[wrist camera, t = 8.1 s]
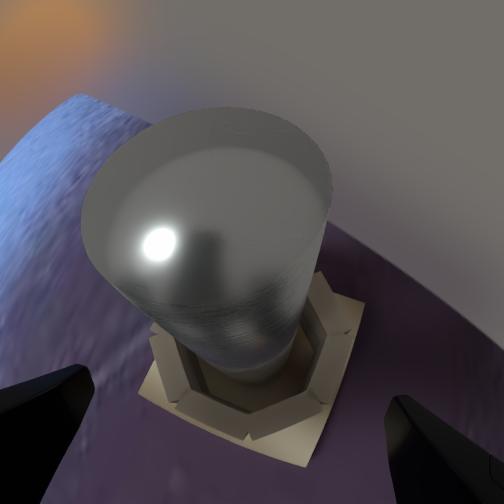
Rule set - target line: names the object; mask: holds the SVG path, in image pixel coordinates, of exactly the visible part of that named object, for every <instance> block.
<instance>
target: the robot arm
mask: <svg viewBox="0 0 504 504" xmlns="http://www.w3.org/2000/svg"><path fill="white" fill-rule="evenodd" d="M94 392H95V386H94V383H93V380H92V377H91V374H90V371H89V369H88V368H87V367H86V366H83V365H80V364H74V365H71V366H68V367H66V368H63V369H60V370H57V371H54V372H51V373H49V374H46V375H43V376H40V377H37V378H34V379H31V380H28V381H25V382H22V383H19V384H16V385H13V386H10V387H7V388H4V389H0V504H40V502H41V500H42V498H43V496H44V494H45V492H46V490H47V488H48V486H49V484H50V482H51V480H52V478H53V476H54V474H55V472H56V470H57V468H58V466H59V464H60V462H61V460H62V458H63V457H64V455H65V453H66V451H67V449H68V447H69V445H70V444H71V442H72V440H73V438H74V436H75V435H76V433H77V431H78V429H79V427H80V425H81V422H82V420H83V418H84V415H85V413H86V411H87V408H88V406H89V404H90V402H91V399H92V397H93V395H94ZM384 425H385V433H386V442H387V451H388V461H389V468H390V473H391V477H392V482H393V487H394V492H395V497H396V502H397V504H504V462H502V461H500V460H499V459H497V458H496V457H494V456H493V455H492V454H490V455H489V453H488V452H487V451H486V450H484V449H483V448H481V447H480V446H478V445H477V444H475V443H474V442H473V441H471V440H470V439H468V438H467V437H465V436H464V435H463V434H461V433H460V432H458V431H457V430H455V429H454V428H453V427H451V426H450V425H448V424H447V423H446V422H444V421H443V420H441V419H440V418H439V417H437V416H436V415H434V414H433V413H432V412H430V411H429V410H427V409H426V408H425V407H423V406H422V405H421V404H419V403H418V402H416V401H415V400H414V399H412V398H411V397H410V396H408V395H399V396H394V397H393V398H392V400H391V402H390V405H389V407H388V410H387V412H386V415H385V418H384Z"/></svg>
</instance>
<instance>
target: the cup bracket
mask: <svg viewBox="0 0 504 504" xmlns="http://www.w3.org/2000/svg"><path fill="white" fill-rule="evenodd" d="M364 306H365V303H363V302H360V301H357V300H354V299H351V298H348V297H345V296H342V295H339V294H336V293H333V292H332V290H331V288H330V286H329V285H328V283H327V281H326V279H325V277H324V276H323V274H322V272H321V271H319V272H317V273H315V274H313V277H312V280H311V284H310V288H309V291H308V295H307V298H306V302H305V305H304V308H303V312H302V315H301V318H300V322H299V325H298V328H297V332H296V335H295V338H294V341H293V344H292V347H291V351H290V354H289V357H288V360H287V363H286V366H285V368H284V370H283V372H282V373H281V374H280V376H279V377H278V378H277V379H275V380H274V381H273V382H271V383H269V384H267V385H264V386H260V387H247V386H243V385H241V384H239V383H237V382H235V381H233V380H232V379H231V378H229V377H228V376H226V375H225V374H223V373H222V372H220V371H219V370H217V369H216V368H215V367H213V366H212V365H210V364H209V363H208V362H206V361H205V360H203V359H202V358H201V357H199V356H198V355H196V354H195V353H194V352H192V351H191V350H190V349H188V348H187V347H186V346H184V345H183V344H182V343H181V342H179V341H178V340H177V339H175V338H174V337H173V336H172V335H170V334H169V333H168V332H166V331H165V330H164V329H163V328H161V327H160V326H159V325H158V324H157V323H155V322H154V323H153V325H152V327H151V329H150V330H151V331H152V332H154V333H155V334H156V335H155V336H152V337H150V338H149V340H150V343H151V347H152V351H153V354H154V358H155V360H154V362H153V364H152V366H151V368H150V370H149V372H148V374H147V376H146V378H145V380H144V382H143V384H142V386H141V388H140V390H139V392H138V394H140V395H141V396H143V397H145V398H146V399H148V400H150V401H151V402H153V403H155V404H156V405H158V406H160V407H162V408H164V409H165V410H167V411H169V412H171V413H173V414H175V415H176V416H178V417H180V418H182V419H184V420H186V421H188V422H190V423H192V424H194V425H196V426H198V427H200V428H202V429H204V430H206V431H209V432H211V433H213V434H215V435H217V436H220V437H222V438H224V439H226V440H229V441H231V442H234V443H236V444H238V445H241V446H243V447H246V448H249V449H251V450H254V451H256V452H259V453H262V454H265V455H268V456H270V457H273V458H276V459H279V460H282V461H285V462H289V463H292V464H295V465H298V466H302V467H305V468H306V466H307V464H308V462H309V459H310V457H311V455H312V453H313V451H314V449H315V446H316V444H317V442H318V440H319V437H320V435H321V433H322V430H323V428H324V425H325V423H326V421H327V418H328V416H329V413H330V411H331V408H332V406H333V403H334V400H335V398H336V395H337V392H338V390H339V387H340V384H341V381H342V378H343V375H344V372H345V370H346V367H347V364H348V360H349V357H350V354H351V351H352V348H353V345H354V341H355V338H356V335H357V331H358V328H359V324H360V321H361V317H362V313H363V310H364Z"/></svg>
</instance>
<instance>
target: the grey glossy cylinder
mask: <svg viewBox="0 0 504 504" xmlns="http://www.w3.org/2000/svg"><path fill="white" fill-rule="evenodd" d="M331 198H332V177H331V173H330V169H329V165H328V163H327V161H326V159H325V157H324V155H323V153H322V151H321V150H320V148H319V147H318V146H317V145H316V143H315V142H314V141H313V140H312V139H311V138H310V137H309V136H308V135H307V134H306V133H305V132H303V131H302V130H301V129H299V128H298V127H297V126H295V125H293V124H291V123H290V122H288V121H286V120H284V119H282V118H280V117H278V116H274V115H272V114H269V113H266V112H262V111H257V110H252V109H245V108H232V107H223V108H222V107H221V108H208V109H201V110H196V111H191V112H187V113H183V114H180V115H176V116H173V117H171V118H168V119H165V120H163V121H161V122H158V123H156V124H154V125H152V126H150V127H148V128H147V129H145V130H143V131H141V132H140V133H138V134H137V135H135V136H134V137H132V138H131V139H129V140H128V141H127V142H126V143H124V144H123V145H122V146H121V147H120V148H119V149H117V150H116V151H115V152H114V153H113V154H112V155H111V156H110V158H109V159H108V160H107V161H106V162H105V163H104V164H103V166H102V167H101V169H100V170H99V171H98V173H97V174H96V176H95V178H94V179H93V181H92V183H91V185H90V187H89V189H88V192H87V194H86V197H85V200H84V204H83V208H82V215H81V234H82V239H83V244H84V247H85V250H86V252H87V255H88V257H89V259H90V260H91V262H92V263H93V265H94V267H95V268H96V269H97V270H98V271H99V272H100V274H101V275H102V276H103V277H104V278H105V279H106V280H107V281H108V282H109V283H111V284H112V285H113V286H114V287H115V288H116V289H117V290H118V291H119V292H120V293H121V294H123V295H124V296H125V297H126V298H127V299H128V300H129V301H131V302H132V303H133V304H134V305H135V306H136V307H137V308H139V309H140V310H141V311H142V312H143V313H144V314H146V315H147V316H148V317H149V318H150V319H152V320H153V321H154V322H155V323H157V324H158V325H159V326H160V327H161V328H163V329H164V330H165V331H166V332H168V333H169V334H170V335H172V336H173V337H174V338H175V339H177V340H178V341H179V342H181V343H182V344H183V345H184V346H186V347H187V348H188V349H190V350H191V351H192V352H194V353H195V354H196V355H198V356H199V357H201V358H202V359H203V360H205V361H206V362H208V363H209V364H210V365H212V366H213V367H215V368H216V369H217V370H219V371H220V372H222V373H223V374H225V375H226V376H228V377H229V378H231V379H232V380H233V381H235V382H237V383H239V384H241V385H243V386H247V387H260V386H264V385H267V384H269V383H271V382H273V381H274V380H275V379H277V378H278V377H279V376H280V374H281V373H282V372H283V370H284V368H285V366H286V363H287V360H288V357H289V354H290V351H291V347H292V344H293V341H294V338H295V335H296V332H297V328H298V325H299V322H300V318H301V315H302V312H303V308H304V305H305V302H306V298H307V295H308V291H309V288H310V284H311V280H312V277H313V273H314V269H315V266H316V262H317V258H318V254H319V250H320V247H321V243H322V239H323V235H324V231H325V226H326V222H327V218H328V214H329V210H330V205H331Z"/></svg>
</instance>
